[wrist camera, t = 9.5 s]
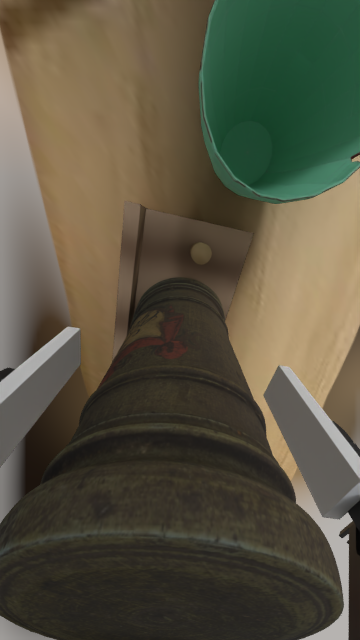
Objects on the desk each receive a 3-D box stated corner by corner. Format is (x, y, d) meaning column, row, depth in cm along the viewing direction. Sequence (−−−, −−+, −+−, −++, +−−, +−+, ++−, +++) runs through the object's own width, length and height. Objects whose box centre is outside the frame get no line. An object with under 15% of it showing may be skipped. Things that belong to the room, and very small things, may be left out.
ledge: (139, 209, 20) (122, 199, 14) (244, 233, 20) (267, 232, 15) (123, 362, 27) (108, 395, 22) (200, 375, 28) (204, 410, 22)
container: (235, 292, 20) (499, 585, 3) (202, 361, 23) (249, 674, 7) (149, 262, 19) (-107, 466, 2) (129, 339, 22) (-32, 645, 6)
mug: (285, 218, 20) (375, 203, 11) (188, 216, 20) (194, 199, 11) (335, -15, 14) (636, -508, 5) (197, -17, 14) (224, -511, 5)
